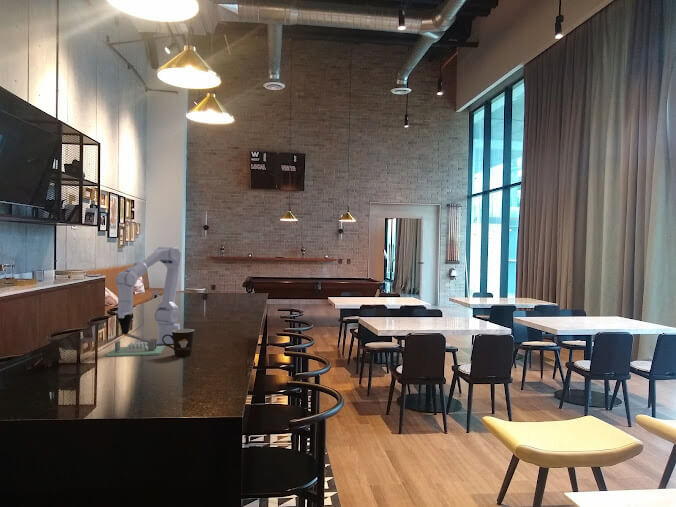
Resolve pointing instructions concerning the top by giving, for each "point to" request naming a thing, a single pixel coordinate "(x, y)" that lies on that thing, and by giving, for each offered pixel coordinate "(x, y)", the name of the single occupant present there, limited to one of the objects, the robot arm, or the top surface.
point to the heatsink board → (136, 349)
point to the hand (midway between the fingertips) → (125, 333)
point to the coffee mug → (181, 342)
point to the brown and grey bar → (137, 337)
